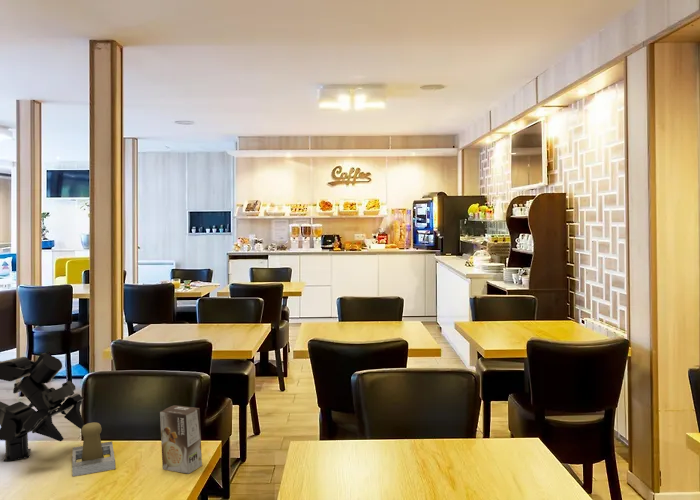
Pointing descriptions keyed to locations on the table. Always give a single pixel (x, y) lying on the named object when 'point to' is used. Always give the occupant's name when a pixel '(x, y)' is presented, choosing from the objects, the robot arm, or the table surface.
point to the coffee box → (181, 438)
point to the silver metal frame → (93, 461)
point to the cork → (92, 442)
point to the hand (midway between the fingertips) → (73, 434)
